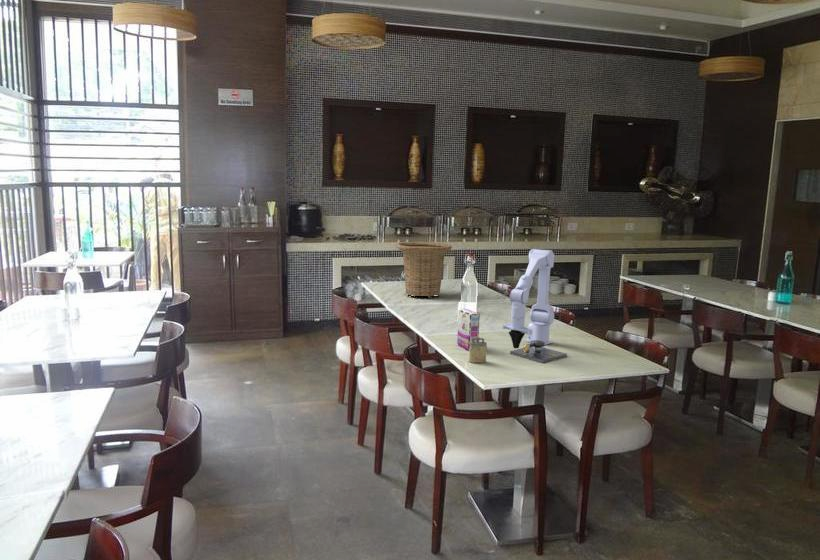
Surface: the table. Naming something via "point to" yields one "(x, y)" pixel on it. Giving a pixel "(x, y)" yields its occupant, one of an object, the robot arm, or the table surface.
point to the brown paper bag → (477, 351)
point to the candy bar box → (467, 327)
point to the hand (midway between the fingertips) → (516, 347)
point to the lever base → (539, 354)
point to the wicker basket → (423, 266)
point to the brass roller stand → (533, 343)
